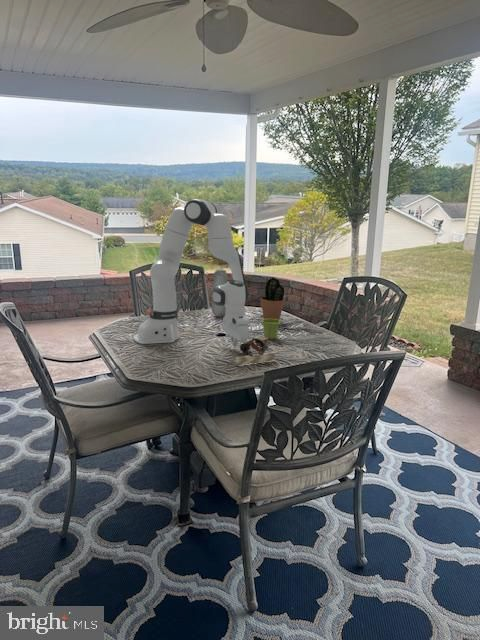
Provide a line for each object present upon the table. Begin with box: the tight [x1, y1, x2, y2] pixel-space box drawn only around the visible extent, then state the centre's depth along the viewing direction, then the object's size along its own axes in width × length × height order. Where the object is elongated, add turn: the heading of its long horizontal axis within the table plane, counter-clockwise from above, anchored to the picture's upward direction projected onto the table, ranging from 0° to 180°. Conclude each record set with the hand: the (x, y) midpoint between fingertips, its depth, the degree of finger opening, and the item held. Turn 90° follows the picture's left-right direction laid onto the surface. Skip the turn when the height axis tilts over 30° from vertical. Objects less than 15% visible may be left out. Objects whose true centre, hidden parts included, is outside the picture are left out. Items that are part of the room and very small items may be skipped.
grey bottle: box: [210, 268, 228, 318], centre depth 264 cm, size 10×10×28 cm
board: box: [235, 351, 276, 365], centre depth 192 cm, size 18×2×5 cm, turn 116°
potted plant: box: [260, 277, 285, 321], centre depth 258 cm, size 14×14×25 cm
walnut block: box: [255, 336, 269, 347], centre depth 215 cm, size 4×4×4 cm
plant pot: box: [261, 318, 281, 340], centre depth 229 cm, size 9×9×9 cm
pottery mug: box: [239, 337, 266, 355], centre depth 203 cm, size 12×10×8 cm
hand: (234, 345), depth 209 cm, fingers closed
